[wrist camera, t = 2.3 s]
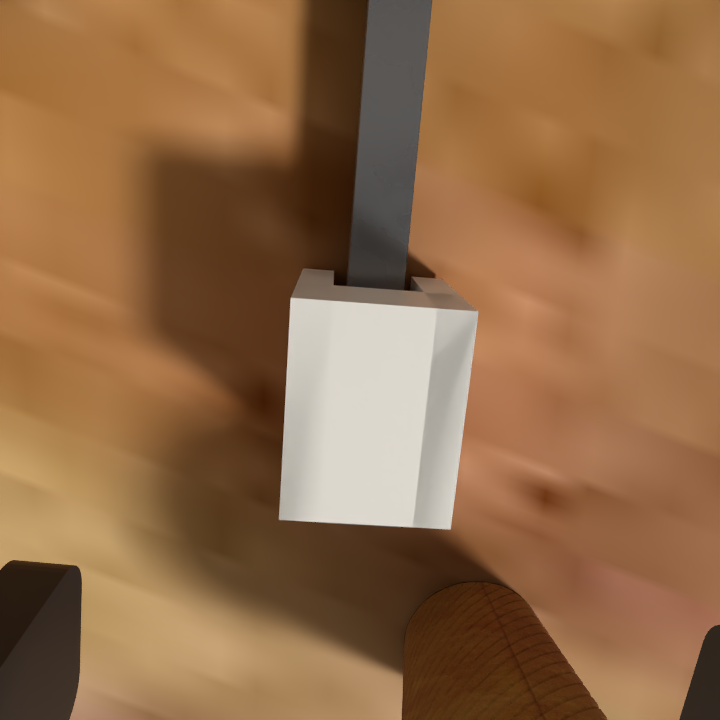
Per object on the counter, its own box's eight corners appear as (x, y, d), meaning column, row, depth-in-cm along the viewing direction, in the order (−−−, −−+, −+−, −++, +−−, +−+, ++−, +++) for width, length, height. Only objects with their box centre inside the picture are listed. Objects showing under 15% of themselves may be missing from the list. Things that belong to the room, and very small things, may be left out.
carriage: (441, 278, 25) (478, 311, 19) (423, 446, 27) (450, 529, 20) (302, 268, 25) (290, 297, 18) (293, 438, 27) (278, 519, 20)
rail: (443, -56, 22) (465, -106, 19) (390, 479, 28) (399, 527, 24) (357, -65, 22) (361, -117, 18) (319, 475, 27) (316, 522, 24)
